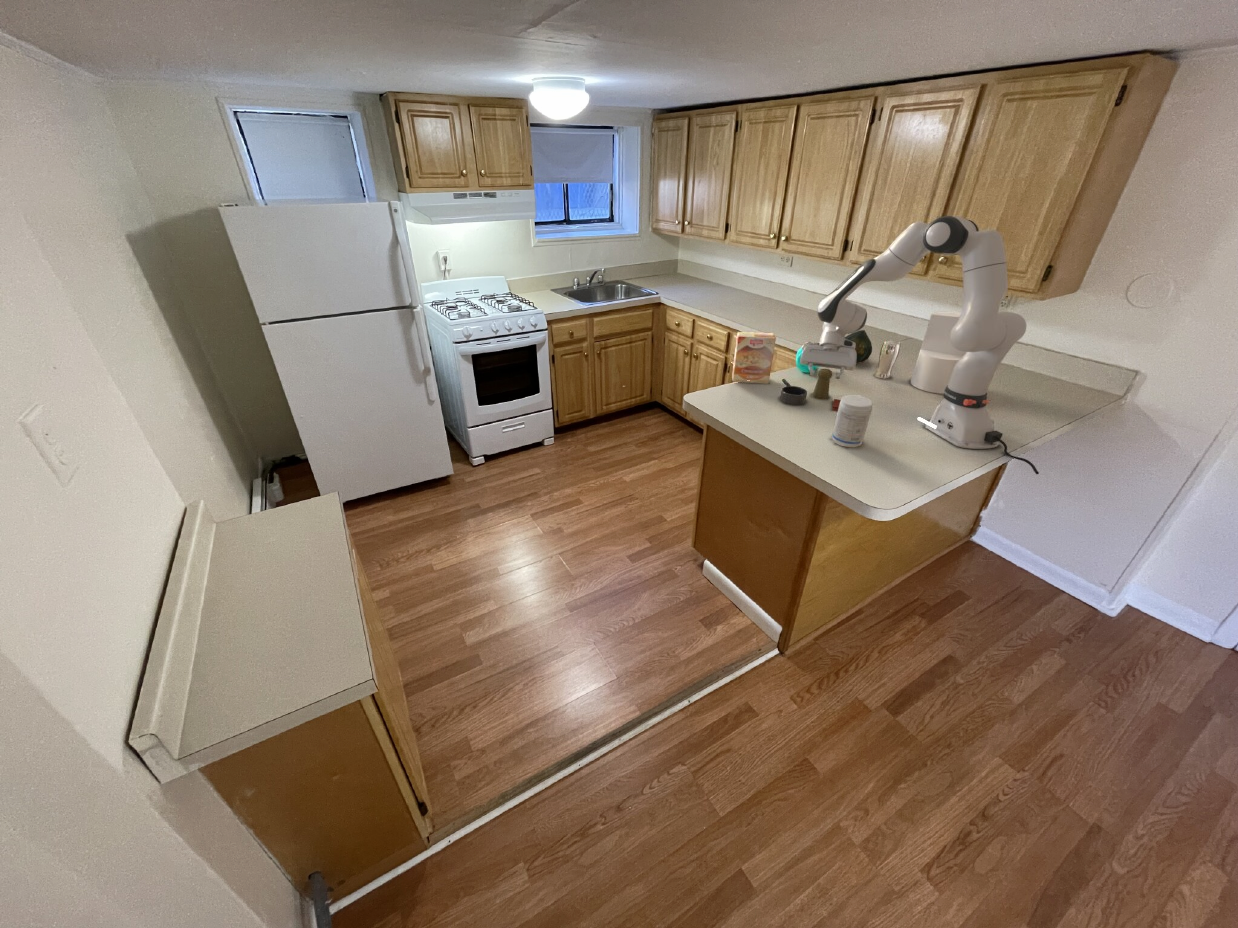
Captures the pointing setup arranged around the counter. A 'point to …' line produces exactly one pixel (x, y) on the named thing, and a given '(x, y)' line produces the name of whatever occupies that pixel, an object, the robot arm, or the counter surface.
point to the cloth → (836, 404)
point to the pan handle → (785, 382)
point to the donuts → (800, 366)
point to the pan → (793, 395)
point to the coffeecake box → (753, 357)
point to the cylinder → (937, 354)
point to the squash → (861, 345)
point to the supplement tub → (852, 420)
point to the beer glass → (887, 358)
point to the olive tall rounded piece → (822, 384)
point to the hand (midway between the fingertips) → (824, 376)
